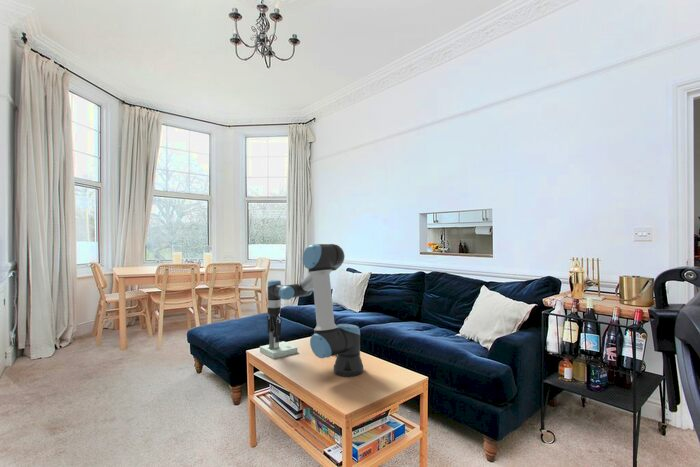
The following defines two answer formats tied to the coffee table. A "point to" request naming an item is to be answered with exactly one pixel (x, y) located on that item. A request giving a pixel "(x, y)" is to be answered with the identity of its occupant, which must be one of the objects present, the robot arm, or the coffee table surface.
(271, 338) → the charger block
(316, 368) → the coffee table surface
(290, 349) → the outlet plate
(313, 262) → the robot arm
